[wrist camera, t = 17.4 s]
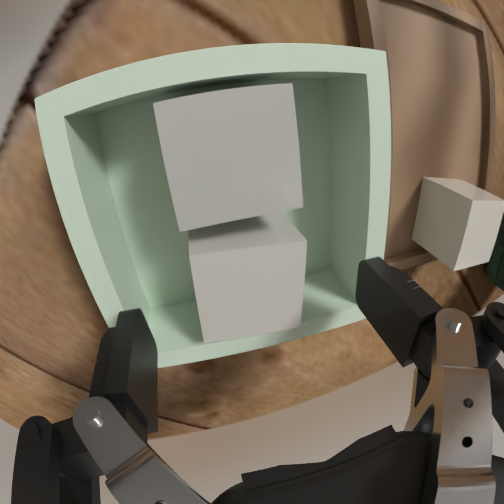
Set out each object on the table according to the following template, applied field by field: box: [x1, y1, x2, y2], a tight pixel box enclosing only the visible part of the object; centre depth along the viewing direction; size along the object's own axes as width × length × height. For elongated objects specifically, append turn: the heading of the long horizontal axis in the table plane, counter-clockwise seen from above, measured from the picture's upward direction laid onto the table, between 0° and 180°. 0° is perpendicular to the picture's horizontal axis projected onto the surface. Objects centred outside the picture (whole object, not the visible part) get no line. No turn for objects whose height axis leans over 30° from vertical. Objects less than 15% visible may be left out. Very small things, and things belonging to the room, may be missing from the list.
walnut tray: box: [353, 0, 495, 270], centre depth 13 cm, size 11×17×1 cm, turn 7°
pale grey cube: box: [188, 211, 307, 343], centre depth 12 cm, size 4×4×4 cm
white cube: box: [412, 177, 504, 271], centre depth 14 cm, size 4×4×4 cm
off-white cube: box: [153, 83, 303, 232], centre depth 10 cm, size 4×4×4 cm
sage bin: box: [34, 43, 391, 368], centre depth 12 cm, size 12×12×4 cm
